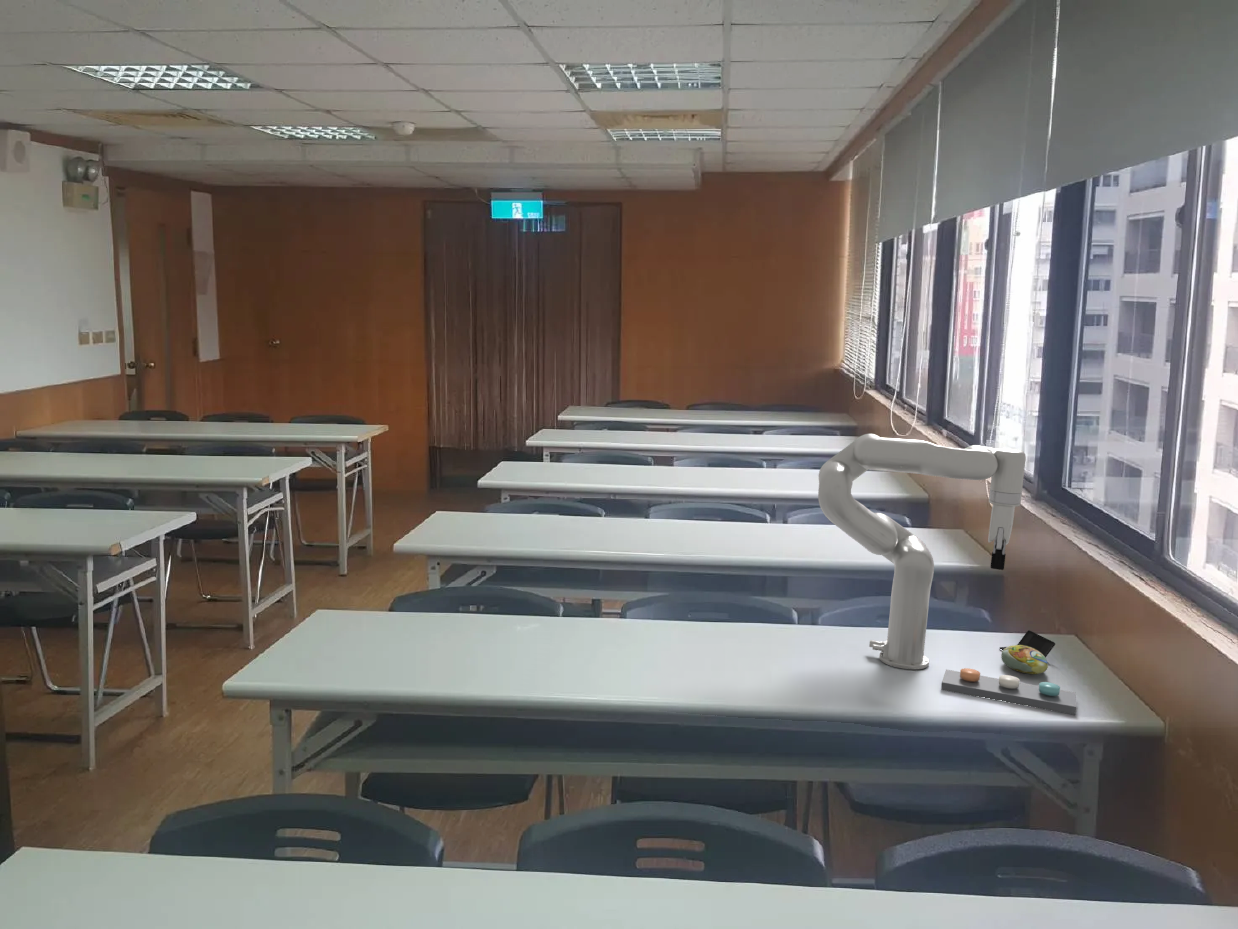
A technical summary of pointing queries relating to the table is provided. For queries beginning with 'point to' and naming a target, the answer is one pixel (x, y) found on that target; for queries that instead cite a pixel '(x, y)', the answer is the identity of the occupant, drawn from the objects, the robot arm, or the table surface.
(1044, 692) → the button teal
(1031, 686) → the button panel
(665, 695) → the table surface
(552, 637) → the table surface
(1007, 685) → the button ivory
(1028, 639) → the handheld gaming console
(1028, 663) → the cell model
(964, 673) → the button terracotta
